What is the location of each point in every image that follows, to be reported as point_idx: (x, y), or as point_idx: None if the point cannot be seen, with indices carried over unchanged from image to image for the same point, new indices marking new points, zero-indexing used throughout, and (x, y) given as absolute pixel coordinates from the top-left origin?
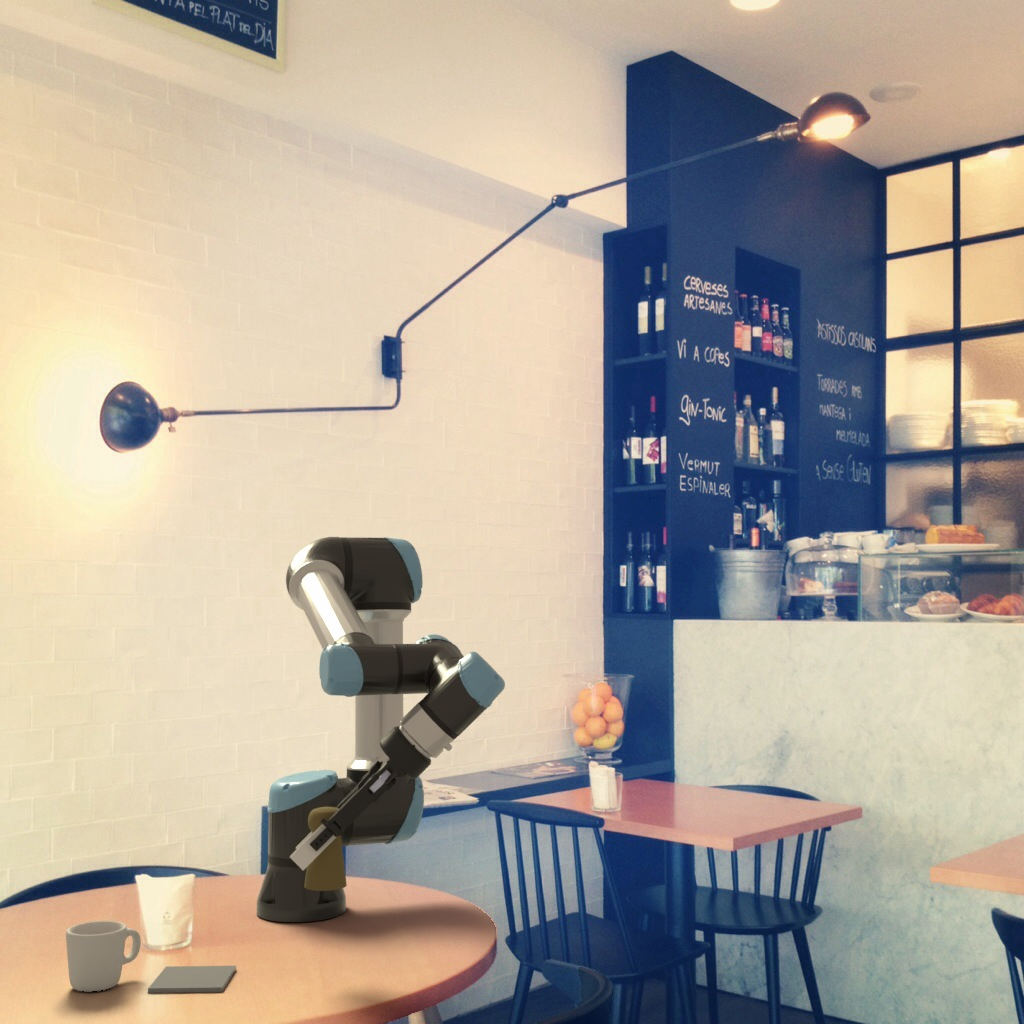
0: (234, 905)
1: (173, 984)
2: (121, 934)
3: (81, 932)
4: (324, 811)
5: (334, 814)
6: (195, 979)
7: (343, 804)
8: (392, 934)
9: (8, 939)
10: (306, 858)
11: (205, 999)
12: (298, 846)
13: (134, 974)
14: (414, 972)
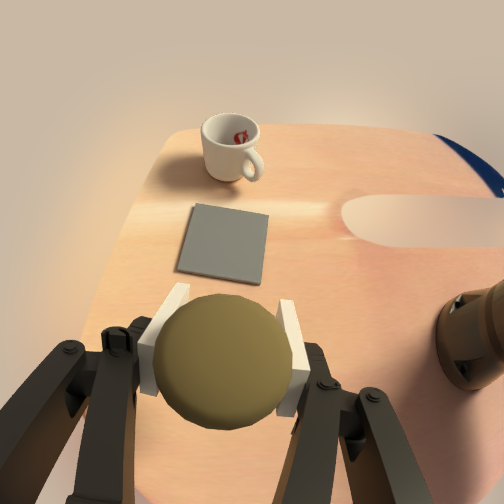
0: (477, 274)
1: (202, 223)
2: (214, 147)
3: (245, 125)
4: (172, 344)
5: (96, 374)
6: (214, 242)
7: (106, 415)
8: None
9: (363, 126)
10: None
11: (158, 255)
12: (279, 304)
13: (261, 193)
14: (209, 497)
